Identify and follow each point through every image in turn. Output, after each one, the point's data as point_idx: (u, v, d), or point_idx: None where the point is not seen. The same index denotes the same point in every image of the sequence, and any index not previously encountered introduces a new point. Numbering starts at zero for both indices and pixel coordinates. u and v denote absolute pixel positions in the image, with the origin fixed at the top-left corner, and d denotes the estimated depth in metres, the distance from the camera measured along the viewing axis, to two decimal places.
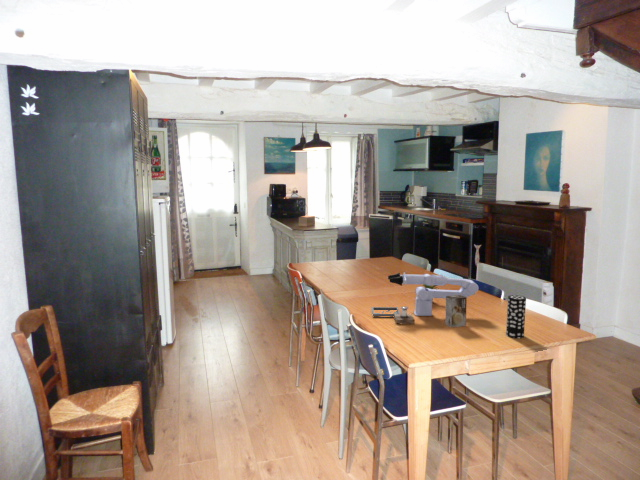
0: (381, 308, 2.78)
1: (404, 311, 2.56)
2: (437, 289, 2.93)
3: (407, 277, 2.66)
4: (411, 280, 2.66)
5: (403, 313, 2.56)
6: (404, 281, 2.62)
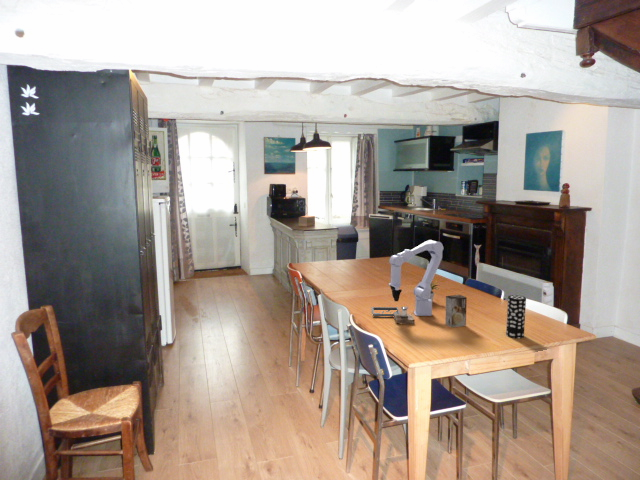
0: (381, 308, 2.78)
1: (404, 311, 2.56)
2: (437, 289, 2.93)
3: (393, 282, 2.61)
4: (396, 279, 2.60)
5: (403, 313, 2.56)
6: (396, 289, 2.57)
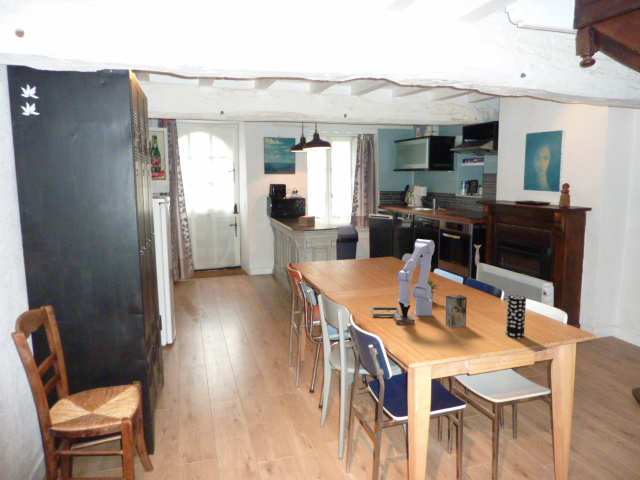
0: (381, 308, 2.78)
1: None
2: (437, 289, 2.93)
3: (402, 298, 2.54)
4: (405, 295, 2.53)
5: None
6: (405, 305, 2.50)
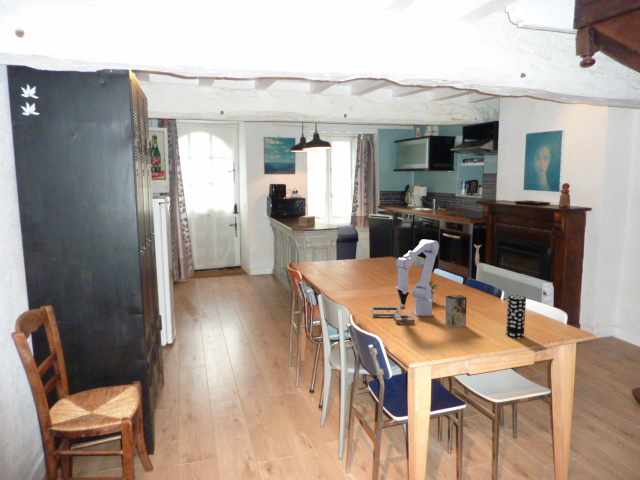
0: (381, 308, 2.78)
1: None
2: (437, 289, 2.93)
3: (400, 286, 2.54)
4: (403, 282, 2.54)
5: None
6: (404, 292, 2.50)
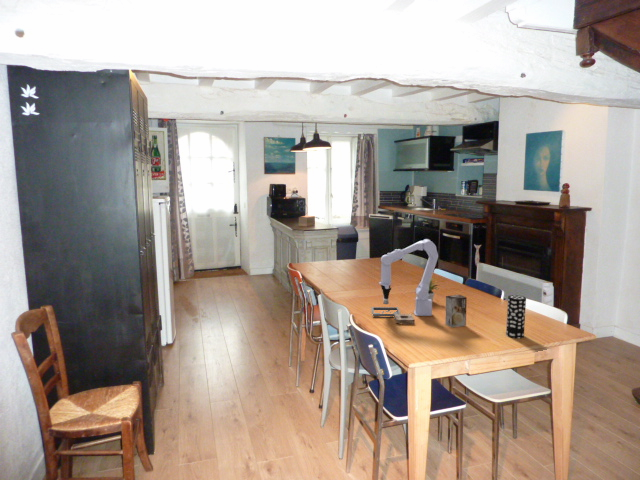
0: (381, 308, 2.78)
1: None
2: (437, 289, 2.93)
3: (383, 281, 2.68)
4: (386, 277, 2.67)
5: None
6: (386, 287, 2.63)
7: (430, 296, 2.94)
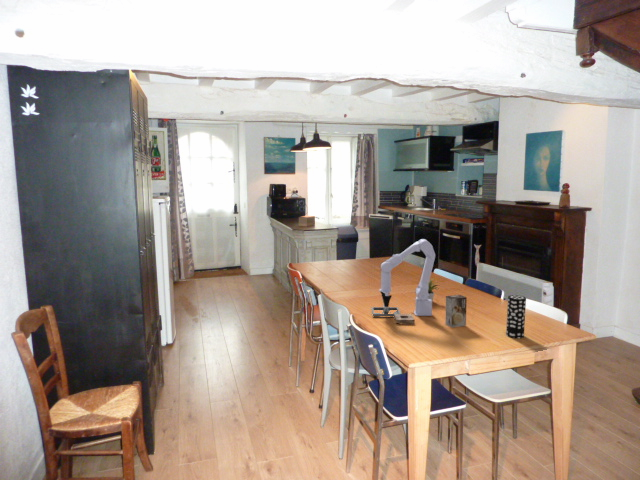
0: (381, 308, 2.78)
1: None
2: (437, 289, 2.93)
3: (383, 288, 2.68)
4: (386, 285, 2.67)
5: None
6: (386, 294, 2.64)
7: (430, 296, 2.94)
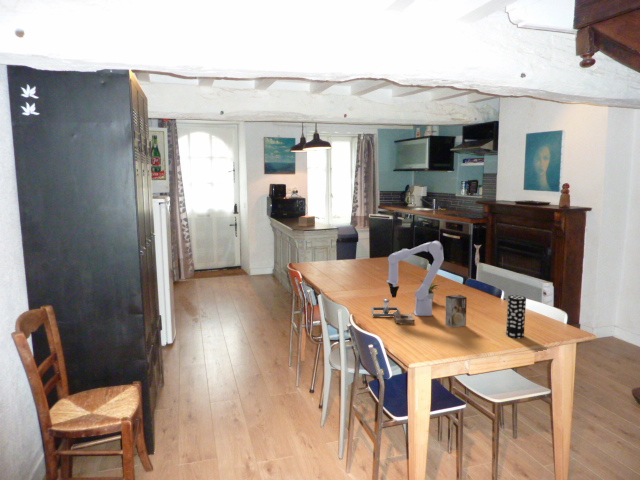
0: (381, 308, 2.78)
1: (386, 303, 2.70)
2: (437, 289, 2.93)
3: (391, 279, 2.73)
4: (394, 276, 2.72)
5: (385, 305, 2.70)
6: (394, 285, 2.69)
7: (430, 296, 2.94)
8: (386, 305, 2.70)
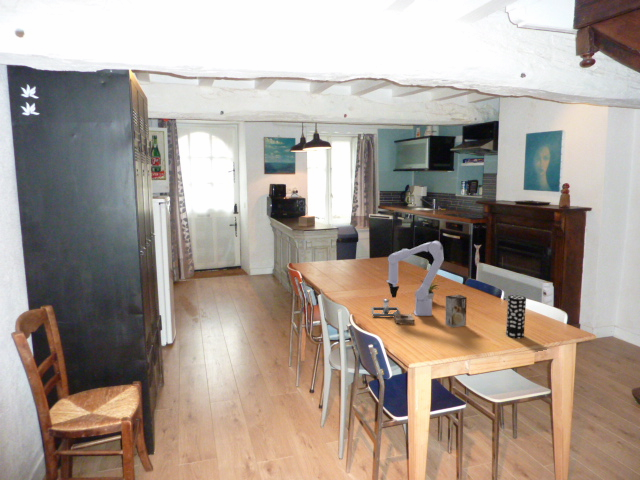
0: (381, 308, 2.78)
1: (386, 303, 2.70)
2: (437, 289, 2.93)
3: (391, 279, 2.73)
4: (394, 276, 2.72)
5: (385, 305, 2.70)
6: (394, 285, 2.69)
7: (430, 296, 2.94)
8: (386, 305, 2.70)
